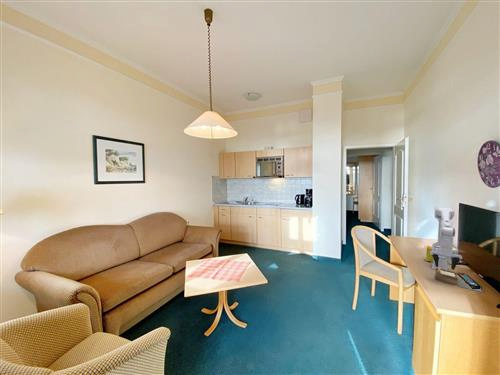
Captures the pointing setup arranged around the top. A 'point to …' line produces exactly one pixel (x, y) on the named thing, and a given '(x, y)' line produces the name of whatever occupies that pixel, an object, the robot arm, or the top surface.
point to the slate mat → (466, 285)
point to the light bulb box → (454, 251)
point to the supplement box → (428, 256)
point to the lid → (445, 272)
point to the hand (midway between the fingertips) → (444, 267)
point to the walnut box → (446, 277)
